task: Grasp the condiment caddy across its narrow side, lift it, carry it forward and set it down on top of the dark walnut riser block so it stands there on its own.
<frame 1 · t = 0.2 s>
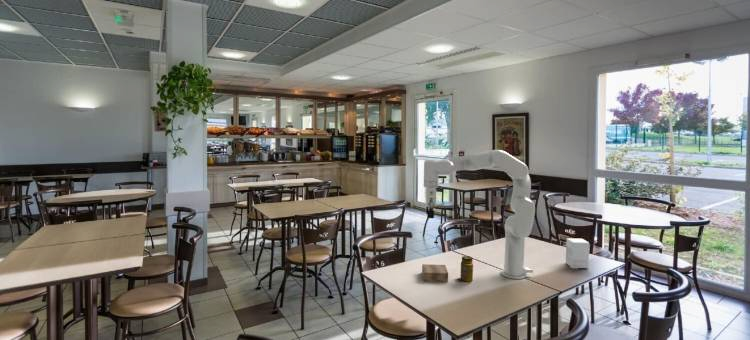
hand: (430, 216, 198), 31 cm above the table, fingers open, 9 cm apart
condiment: (465, 281, 190), on the table
riser: (434, 278, 194), on the table
supplement box: (576, 266, 213), on the table
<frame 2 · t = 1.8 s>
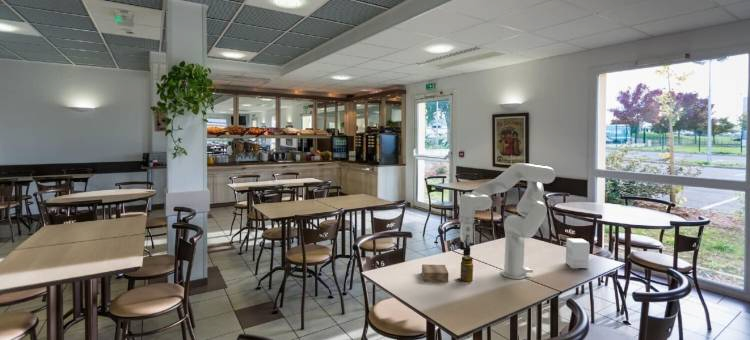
hand: (464, 252, 188), 15 cm above the table, fingers open, 9 cm apart
nothing on the table moved.
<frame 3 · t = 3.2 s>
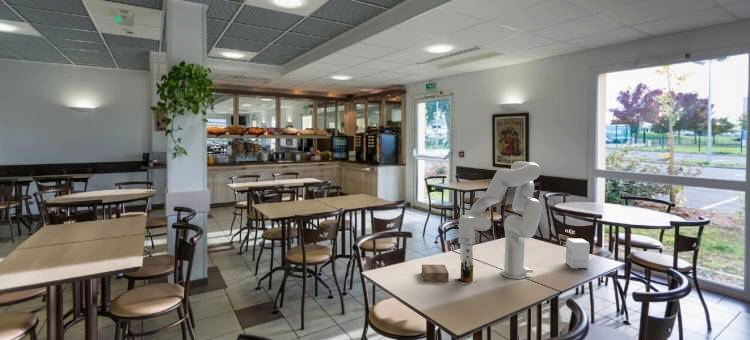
hand: (465, 274, 190), 3 cm above the table, fingers closed on condiment, 6 cm apart
condiment: (465, 281, 189), on the table, touching gripper
everything else where it was.
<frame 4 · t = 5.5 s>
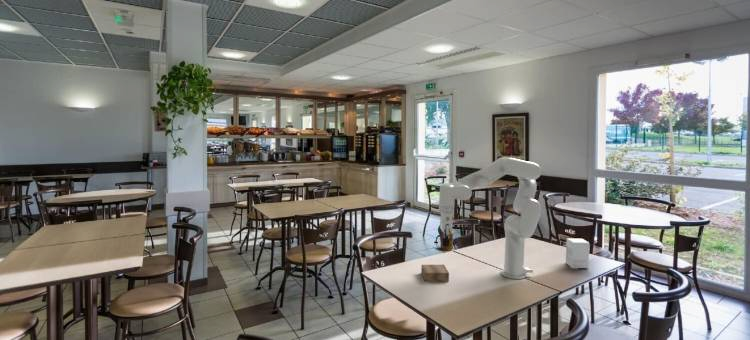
hand: (444, 243, 191), 18 cm above the table, fingers closed on condiment, 6 cm apart
condiment: (444, 250, 191), point 15 cm above the table, touching gripper
everything else where it was.
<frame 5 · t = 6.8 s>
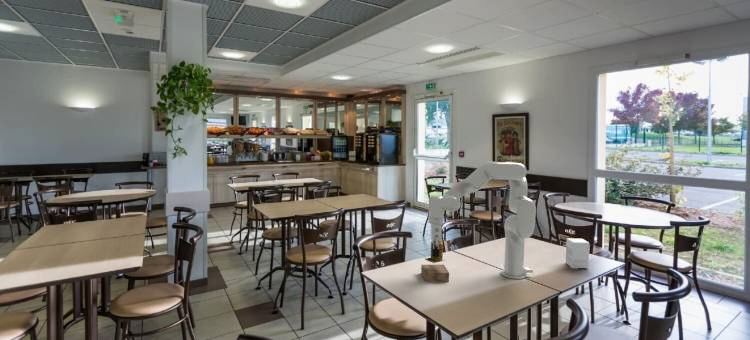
hand: (435, 254, 193), 12 cm above the table, fingers closed on condiment, 6 cm apart
condiment: (435, 260, 193), point 9 cm above the table, touching gripper
everything else where it was.
when the fingers open (9 cm above the table, at t = 7.9 s): condiment drops 1 cm, resting on riser.
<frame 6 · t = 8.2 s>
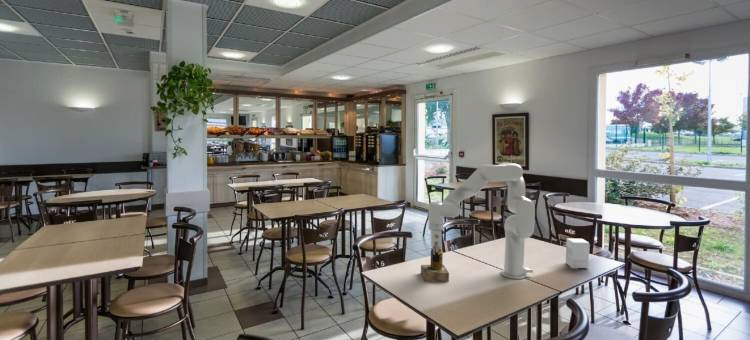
hand: (435, 258, 193), 10 cm above the table, fingers open, 9 cm apart
condiment: (434, 269, 193), point 4 cm above the table, touching riser
riser: (434, 278, 194), on the table, touching condiment
everything else where it was.
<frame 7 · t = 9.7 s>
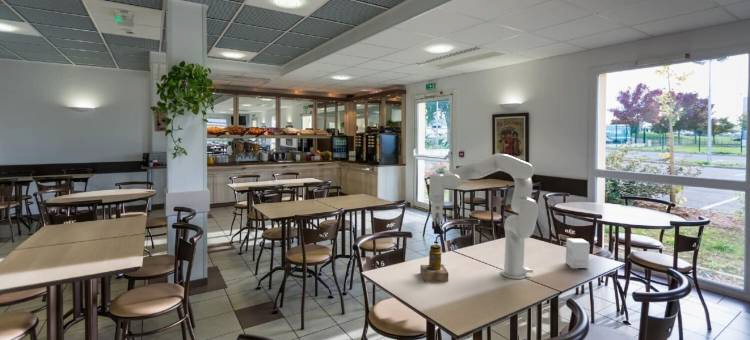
hand: (436, 231, 192), 24 cm above the table, fingers open, 9 cm apart
nothing on the table moved.
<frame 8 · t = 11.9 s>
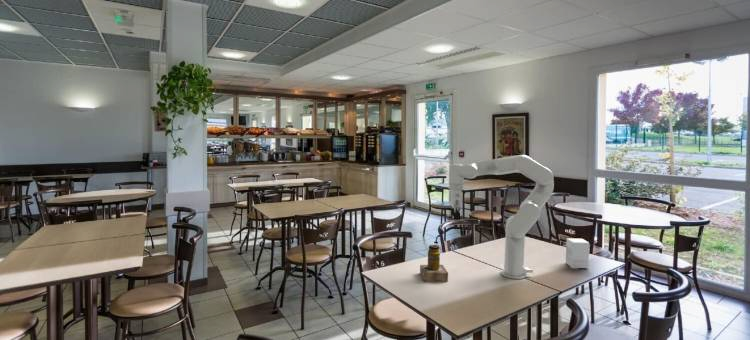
hand: (455, 217, 205), 28 cm above the table, fingers open, 9 cm apart
at the end: condiment inside the target area on the riser (1.1 cm from its centre), point 4.8 cm above the riser's base; condiment tilted 0°; the gripper is holding nothing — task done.
